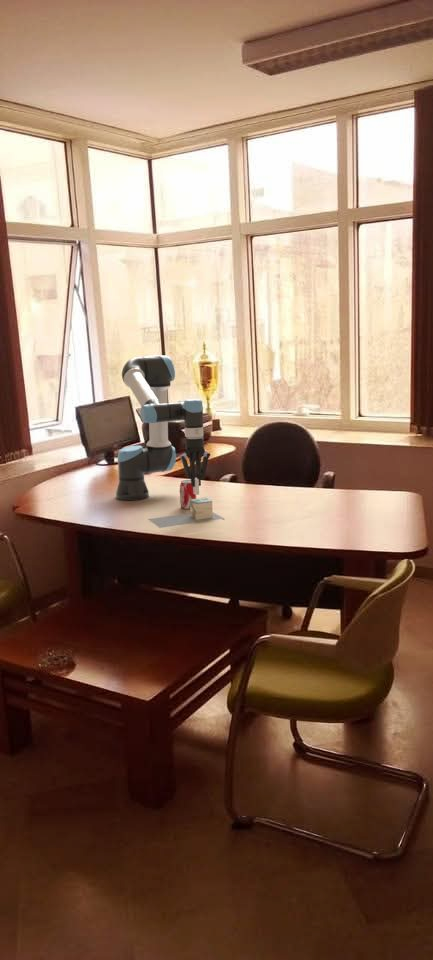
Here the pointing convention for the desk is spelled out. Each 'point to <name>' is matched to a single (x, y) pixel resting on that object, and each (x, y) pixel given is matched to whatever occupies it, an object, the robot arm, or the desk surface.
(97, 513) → the desk surface
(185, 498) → the soda can
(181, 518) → the mat
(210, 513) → the block
